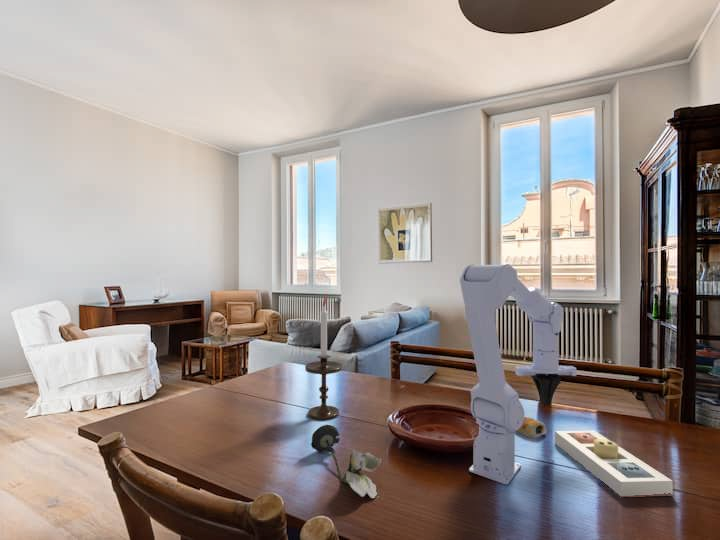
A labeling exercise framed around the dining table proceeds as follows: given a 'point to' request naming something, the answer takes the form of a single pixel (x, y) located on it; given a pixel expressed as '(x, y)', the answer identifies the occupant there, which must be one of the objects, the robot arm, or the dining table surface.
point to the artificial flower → (358, 462)
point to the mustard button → (605, 449)
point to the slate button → (630, 470)
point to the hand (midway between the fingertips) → (545, 404)
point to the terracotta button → (584, 438)
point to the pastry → (532, 428)
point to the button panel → (614, 467)
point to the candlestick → (323, 374)
